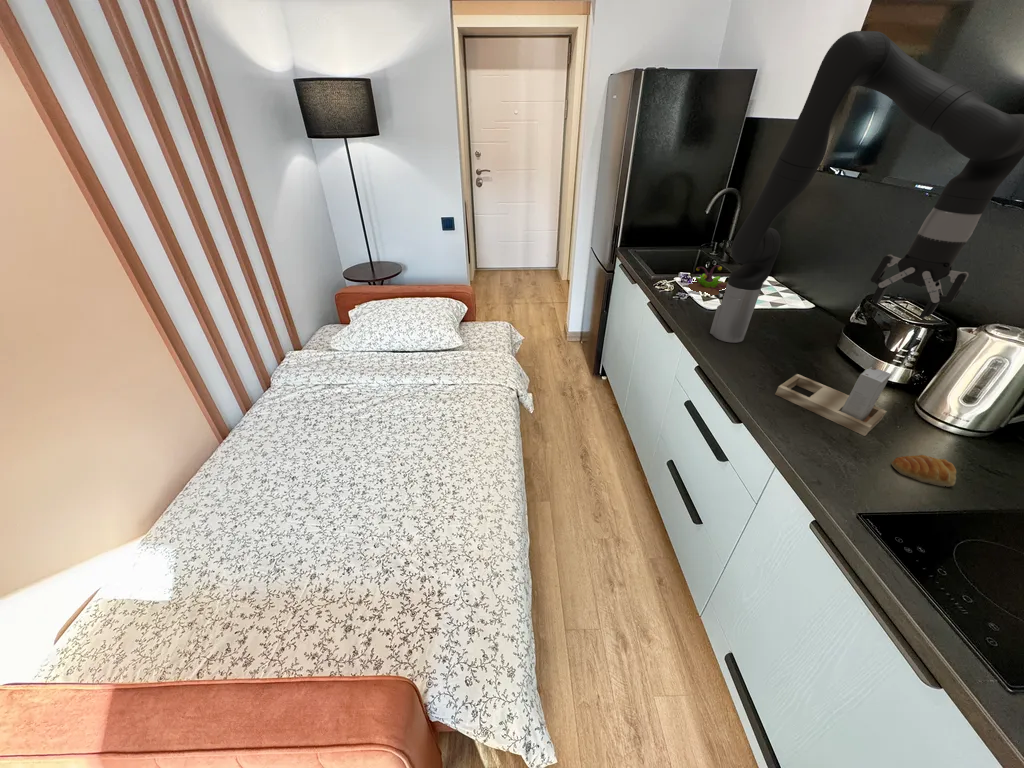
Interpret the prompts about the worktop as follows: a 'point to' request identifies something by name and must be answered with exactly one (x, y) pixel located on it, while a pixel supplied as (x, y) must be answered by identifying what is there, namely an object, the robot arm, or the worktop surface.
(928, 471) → the pastry
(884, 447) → the worktop surface
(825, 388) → the wooden compartment tray
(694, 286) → the plant
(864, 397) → the skincare box
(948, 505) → the worktop surface
